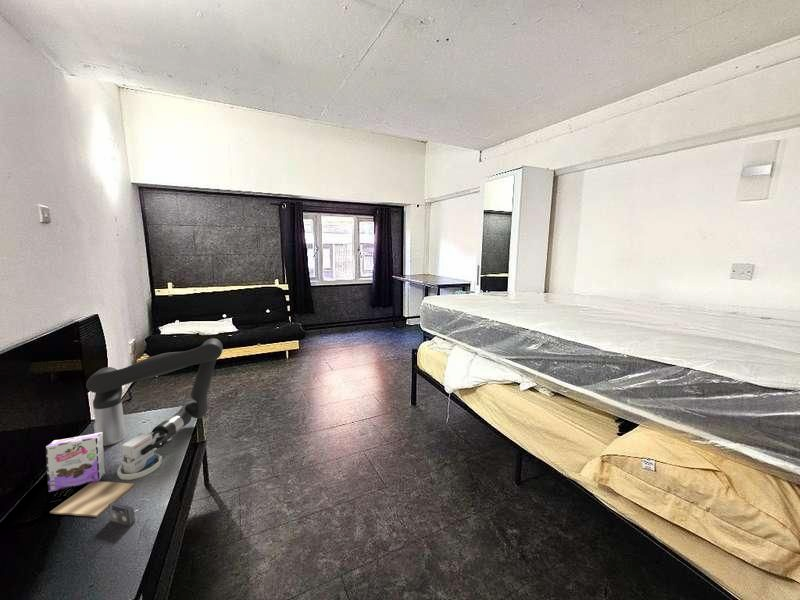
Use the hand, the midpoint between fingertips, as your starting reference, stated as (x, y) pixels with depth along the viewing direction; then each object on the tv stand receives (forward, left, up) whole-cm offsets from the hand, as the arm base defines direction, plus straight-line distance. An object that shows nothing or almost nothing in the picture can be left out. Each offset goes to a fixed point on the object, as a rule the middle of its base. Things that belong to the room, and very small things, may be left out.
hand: (134, 452), depth 122 cm
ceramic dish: (0, +2, -8) cm, 8 cm away
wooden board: (-2, -14, -8) cm, 16 cm away
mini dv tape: (+16, -22, -8) cm, 29 cm away
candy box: (-15, -8, -7) cm, 19 cm away
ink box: (0, +2, -7) cm, 8 cm away
